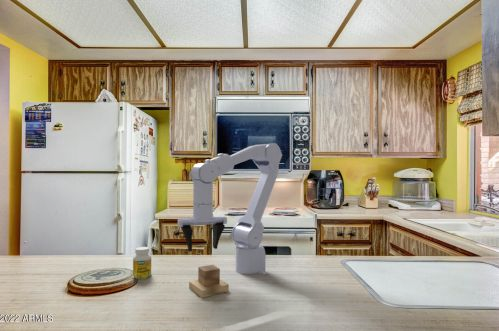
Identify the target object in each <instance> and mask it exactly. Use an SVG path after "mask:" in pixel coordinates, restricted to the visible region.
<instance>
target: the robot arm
mask: <svg viewBox="0 0 499 331" xmlns="http://www.w3.org/2000/svg"><path fill="white" fill-rule="evenodd" d="M282 157H283V154H282V151H281V148H280V146H279V145H278V144H277V143H275V142H270V143H264V144H254V145H249V146H247V147H245V148H243V149H241V150H239V151H236V152H235V153H233V154H230V155H229V154H227V153H223V152H222V153H218V154H217V156H216V157H213V158H211V159H209V158H208V159H205V160H204V162H203V163H200V162H199V163H195V164H194V165H193V167H192V168H191V170H190V172H189V177H190V179H191V180H192V186H193V192H192V194H193V195H192V199H193V200H192V206H193V209H192V211H193V212H192V217H189V218H188V217H187V218H180V219H178V218H177V227H179V228H180V229H181V231H182V233H183V235H184V238H185V241H186V246H187V251H188V252H193V231H194V230H193V228H192V226H205V225H207V226H208V225H211V227H212V248H213V249H214V250H217V249H218V245H219V242H220V238H221V235H222V234H223V231H224V229H225V226H226V225H225V224H227V223H228V218H227V217H226V216H213V213H214V210H213V209H214V207H213V206H214V205H213V204H214V200H213V198H214V182H215V180H216V179H217V178H218V177H220V176H223V175H226V174H228V173H229V172H232V171H233V170H234V167H235V165H238V164H240V163H243V162H246V161H248V160H252V161H253V163H254V164H255V165H256V166H257V168H258V170H259V171H260V176H259V179H258V181H257V184H256V186H255V189H254V192H253V194H252V196H251V199H250V202H249V205H248V207H247V209H246V211H245V214H244V215H243V216H242V217H240V218H239V219H238V220H237V223H236V224H235V225H234V226H233V227H232V231H231V239H232V240H233V241H234V245H235V272H236V273H238V274H241V275H252V274H257V273H260V274H261V275H263V276H265V275H267V272H266V249H265V247H264V246H263V245H262V244H261V243H262V241H263V238H264V237H263V236H264V235H263V232H264V230H265V227H264V225H263V224H264V223H263V222H262V221H261V220H262V219H263V215H264V213H265V210H266V207H267V205H268V201H269V200H270V196H271V194H272V191H273V189H274V185H275V183H276V180H277V178H278V176H279V175H278V174H279V168H280V166H279V165H280V162H281V160H282Z"/></svg>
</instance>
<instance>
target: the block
mask: <svg viewBox="0 0 499 331" xmlns="http://www.w3.org/2000/svg"><path fill="white" fill-rule="evenodd" d="M197 267H198V271H197V273H198V276H197V277H198V278H197V280H198V282H200V283H201V284H202V285H203V286H204V287H205V286H210V285H215V284H220V280H221V277H220V276H221V269H220V268H219V267H217V266H216V265H215V264H209V265H202V266H197Z"/></svg>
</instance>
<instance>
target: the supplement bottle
mask: <svg viewBox="0 0 499 331" xmlns="http://www.w3.org/2000/svg"><path fill="white" fill-rule="evenodd" d="M134 252H135V254H134V256H133V257H132V277H133V276H134V277H135V278H136V279H135V280H145V279H149V278H150V277H151V276H152V255H151V254H150V247H149V246H139V247H136V248H135V251H134Z"/></svg>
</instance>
